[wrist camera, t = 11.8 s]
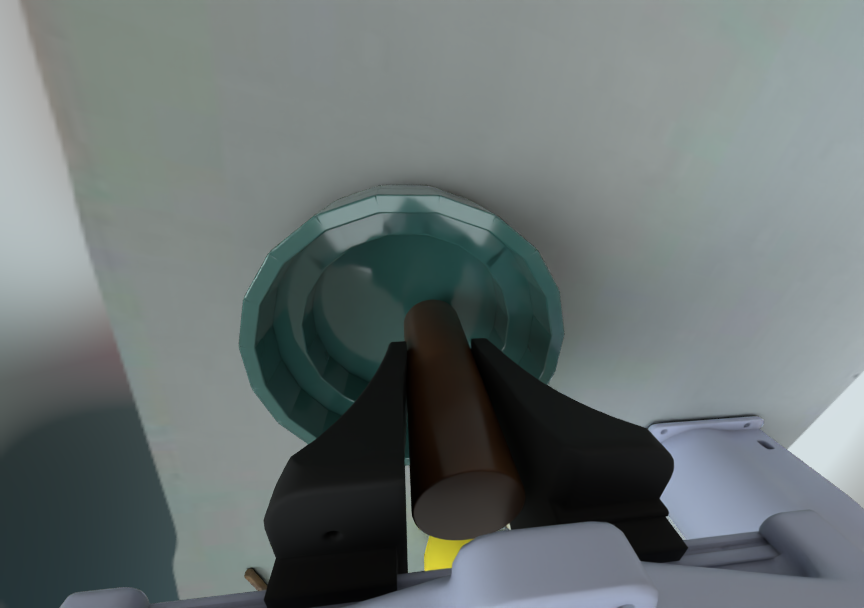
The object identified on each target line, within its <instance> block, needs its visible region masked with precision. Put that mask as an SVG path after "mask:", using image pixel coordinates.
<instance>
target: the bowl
mask: <svg viewBox="0 0 864 608" xmlns="http://www.w3.org/2000/svg"><path fill="white" fill-rule="evenodd" d="M431 299H433V300H441V301H444V302H446V303H448V304H449V305H451V306H452V307H453V308H454V309H455V311H456V313H457V315H458V317H459V320H460V322H461V325H462V328H463V330H464V333H465V335H466V338H467V341H468V343H469V346H470V348H471V339H473V338H486V339H488V340H489V341H490V342H491V343H492V344H494V345H495V346H496V347H497V348H498V349H499V350H500V351H502V352H503V353H504V354H505V355H506V356H508V357H509V358H510V359H511V360H513V361H514V362H515V363H516V364H518V365H519V366H520V367H521V368H523V369H524V370H526V371H527V372H528V373H530V374H531V375H533V376H534V377H535V378H537V379H538V380H540V381H541V382H543V383H545V384H546V385H547V384H548V383H549V381H550V379H551V378H552V376H553V375H554V372H555V371H556V366H557V362H558V358H559V354H560V350H561V346H562V342H563V338H564V325H563V316H562V308H561V299H560V292H559V289H558V287H557V285H556V283H555V281H554V279H553V277H552V276H551V274H550V272H549V270H548V268H547V266H546V265H545V263H544V261H543V259H542V257H541V255H540V254H539V252H538V250H537V249H536V248H535V247H534V246H533V245H532V244H530V243H529V242H528V241H527V240H526V239H524V238H523V237H522V236H521V235H520V234H518V233H517V232H516V231H515V230H514V229H512V228H511V227H510V226H509V225H508V224H507V223H505V222H504V221H503V220H502V219H501V218H499V217H498V216H497V215H495V214H493V213H492V212H490V211H488V210H487V209H485V208H483V207H481V206H480V205H478V204H476V203H475V202H473V201H471V200H469V199H466V198H463V197H460V196H458V195H455V194H452V193H449V192H446V191H444V190H441V189H438V188H435V187H433V186H428V185H382V186H381V185H378V186H376V187H373V188H370V189H367V190H364V191H361V192H358V193H355V194H352V195H349V196H346V197H343V198H340V199H337V200H336V201H334V202H333V203H331V204H330V205H328V206H327V207H326V208H324V209H323V210H321V211H320V212H318V213H317V214H316V215H314V216H313V217H312V218H310V219H309V220H308V221H307V222H305V223H304V224H303V225H302V226H301V227H299V228H298V229H297V230H296V231H294V232H293V233H292V234H291V235H289V236H288V237H287V238H286V239H284V240H283V241H282V242H281V243H279V244H278V245H277V246H276V247H275V248H273V249H272V250H271V251H270V253H268V255H267V256H266V258H265V260H264V262H263V264H262V265H261V267H260V269H259V271H258V273H257V274H256V276H255V278H254V280H253V282H252V283H251V285H250V287H249V289H248V291H247V292H246V294H245V296H244V300H243V306H242V316H241V326H240V336H239V350H240V353H241V356H242V359H243V363H244V366H245V369H246V372H247V375H248V379H249V382H250V385H251V388H252V390H253V391H254V393H255V394H256V395H257V397H258V398H259V399H260V400H261V402H262V403H263V404H264V406H265V407H266V408H267V410H268V411H269V412H270V413H271V415H272V416H273V417H274V419H275V420H276V421H277V422H278V423H279V424H280V425H281V426H283V427H284V428H286V429H287V430H289V431H290V432H291V433H293V434H294V435H296V436H297V437H299V438H300V439H301V440H303V441H304V442H306V443H307V444H310V443H311V442H312V441H314V440H315V439H316V438H318V437H319V436H320V435H321V434H322V433H324V432H325V431H326V430H327V429H328V428H329V427H330V426H331V425H333V424H334V423H335V422H336V421H337V420H338V419H339V418H340V417H341V416H342V415H343V414H344V413H345V412H346V411H347V410H348V409H349V408H350V407H351V405H352V404H353V403H354V402H355V401H356V400H357V398H358V397H359V396H360V395H361V393H362V392H363V391H364V389H365V388H366V387H367V385H368V384H369V382H370V381H371V379H372V378H373V376H374V375H375V373H376V371H377V370H378V368H379V366H380V364H381V362H382V361H383V358H384V356H385V354H386V352H387V349H388V346H389V344H390V343H391V342H400V341H404V319H405V317H406V314H407V313H408V311H409V310H410V309H411V308H412V307H413V306H414V305H416V304H417V303H419V302H422V301H425V300H431ZM406 465H410V462H409V438H408V415H407V427H406V443H405V466H406Z"/></svg>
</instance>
